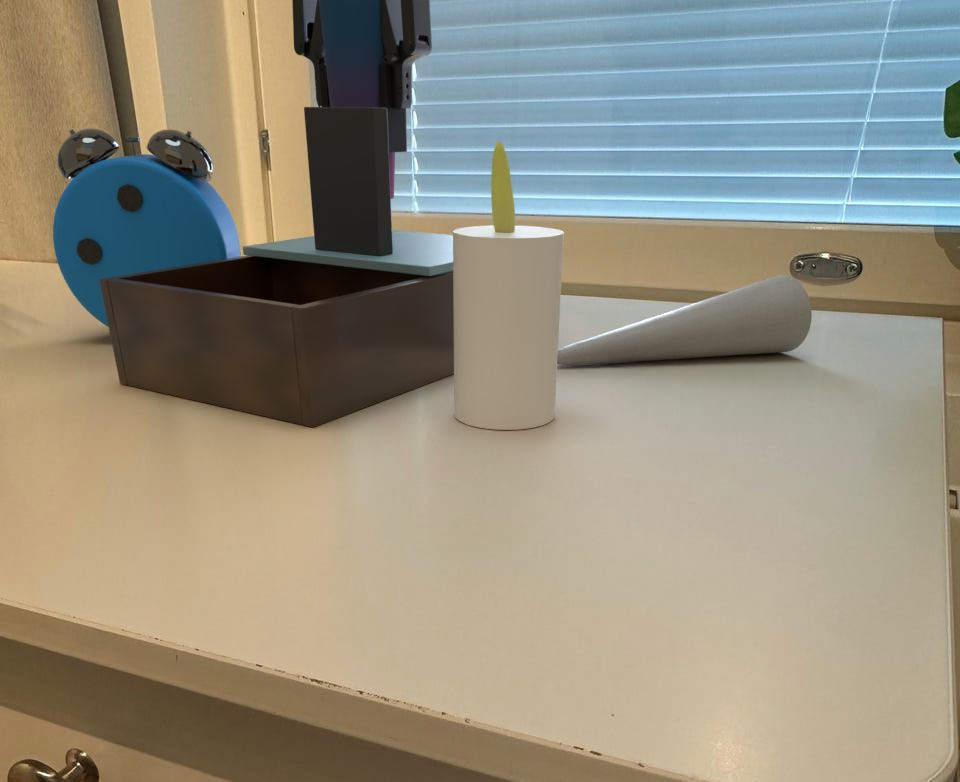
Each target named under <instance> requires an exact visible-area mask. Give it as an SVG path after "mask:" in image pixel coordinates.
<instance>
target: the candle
mask: <svg viewBox="0 0 960 782" xmlns="http://www.w3.org/2000/svg"><path fill="white" fill-rule="evenodd" d="M491 160H492V161H491V175H490V177H491V178H490V194H491V195H490V197H491V199H490V200H491V215H492V216H491V217H492V222H493V225H492V224H491V225H475V226H465V227H459V228H455V229H454V230H453V231H452V235H453V307H454V374H453V414H454V417H455V419H456V420H458V421H459V422H460V423H462V424H464V425H468V426H470V427H471V426H472V427H475V428H481V429H487V430H497V431H498V430H499V431H514V430H515V431H516V430H525V429H526V430H527V429H533V428H537V427H542V426H544V425H546V424H549V423H551V422H552V421H553V420H554V419H555V412H556V395H557V394H556V393H557V377H558V364H557V357H558V350H559V338H560V337H559V335H560V317H561V315H560V314H561V296H562V278H563V275H562V274H563V260H564V259H563V257H564V241H565V232H564V231H563V230H561V229H557V228H551V227H545V226H535V225H516V210H515V200H514V189H513V182H512V175H511V170H510V165H509V160H508V155H507V153H506V149H505V147H504V144H503V143H502V141H500V140H498V141H497V142H496V144H495V146H494V149H493V153H492V159H491Z"/></svg>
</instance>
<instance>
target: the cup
mask: <svg viewBox="0 0 960 782" xmlns="http://www.w3.org/2000/svg"><path fill="white" fill-rule="evenodd" d="M319 7H320V16H321V26H322V35H323V44H324V53H325V63H326V72H327V81H328V90H329V99H330V107H370V108H380V79H379V65H390V64H389V63H385V62H384V61H383V60H382V58H381V57H384V56H385V55H386V52H385V48H384V44H383V40H382V36H381V31H380V0H319ZM395 168H396V152H389V170H390V196H391V200H393V199H394V198H395V178H396V177H395V175H396V173H395V172H396V169H395Z"/></svg>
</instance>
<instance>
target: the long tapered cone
mask: <svg viewBox="0 0 960 782" xmlns="http://www.w3.org/2000/svg"><path fill="white" fill-rule="evenodd" d="M812 313H813V312H812V304H811V301H810V297H809V295H808V292H807V291H806V288H804V286H803V285H802V283H801V282H800V281H799V280H797V279H796V278H795V277H793V276H790V275H786V274H779V275H775V276H773V277H769V278H766V279H763V280H759V281H756V282H754V283H751V284H747V285H745V286H742V287H739V288H737V289H734V290H731V291H728V292H725V293H722V294H718V295H716V296H715V295H714V296H713V297H710V298H707V299H704V300H700V301H697V302H694V303H692V304H688V305H685V306H682V307H679V308H677V309H676V308H675V309H673V310H671V311H668V312H664V313H662V314H658V315H656V316H652V317H649V318H646V319H643V320H641V321H637V322H635V323H631V324H629V325H625V326H622V327H620V328H617V329H614V330H609V331H607V332H604V333H601V334H599V335H595V336H593V337H590V338H586V339H583V340H580V341H577V342H573V343H571V344H568V345H566V346H563V347H562V348H559V349H558V357H557V365H559V366H586V365H602V364H616V363H617V364H618V363H619V364H620V363H633V362H648V361H664V360H665V361H666V360H681V359H693V358H694V359H696V358H713V357H726V356H727V357H728V356H737V355H738V356H741V355H762V354H778V353H789V352H792V351H794V350H796V349H797V348H799V347H800V346H801V345H802V344H803V343H804V341H805V339H806V338H807V337H808V334H809V332H810V330H811V329H810V328H811V325H812V317H813V314H812Z"/></svg>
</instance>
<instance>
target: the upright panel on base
mask: <svg viewBox="0 0 960 782" xmlns="http://www.w3.org/2000/svg"><path fill="white" fill-rule="evenodd" d="M303 114H304V126H305V137H306V151H307V163H308V175H309V186H310V201H311V212H312V226H313V235H312V236H305V237H298V238H291V239H284V240H277V241H269V242H264V243H258V244H250V245H244V246H242V253H243V256H247V255H248V256H257V257H266V258H275V259H283V260H292V261H301V262H309V263H318V264H327V265H336V266H344V267H353V268H362V269H370V270H379V271H388V272H397V273H405V274H414V275H423V276H433V275H438V274H442V273H446V272H451V271H453V234H443V233H434V232H433V233H431V232H422V231H421V232H419V231H408V230H400V229H399V230H397V229H393V225H392V221H393V220H392V199H391V196H390V170H389V145H388V120H387V108H370V107H322V106H304V107H303Z"/></svg>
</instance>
